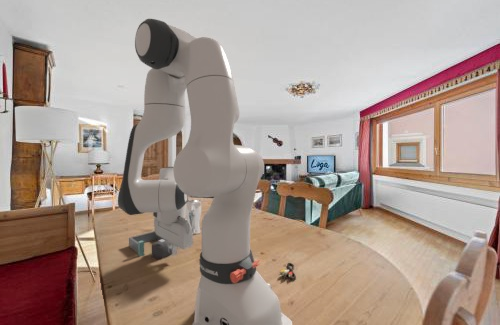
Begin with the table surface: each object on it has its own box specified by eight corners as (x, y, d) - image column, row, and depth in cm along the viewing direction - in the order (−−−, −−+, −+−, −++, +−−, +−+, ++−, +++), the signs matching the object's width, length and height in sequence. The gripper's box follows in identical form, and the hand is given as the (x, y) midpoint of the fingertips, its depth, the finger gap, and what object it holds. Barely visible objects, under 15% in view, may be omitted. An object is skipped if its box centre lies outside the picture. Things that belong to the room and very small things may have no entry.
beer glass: (186, 235, 96) (185, 202, 96) (186, 230, 103) (186, 199, 103) (201, 234, 98) (201, 202, 98) (201, 229, 105) (200, 199, 104)
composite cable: (287, 264, 71) (287, 257, 71) (301, 268, 69) (301, 260, 69) (277, 280, 63) (277, 271, 63) (293, 284, 60) (293, 276, 60)
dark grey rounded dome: (175, 254, 79) (175, 240, 79) (157, 261, 74) (156, 246, 73) (166, 248, 83) (166, 235, 83) (148, 254, 78) (148, 240, 78)
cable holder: (172, 245, 86) (172, 233, 86) (139, 256, 77) (139, 242, 76) (158, 237, 94) (158, 226, 94) (127, 246, 85) (127, 234, 85)
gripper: (197, 217, 68) (198, 260, 69) (167, 207, 82) (167, 242, 82) (179, 222, 63) (180, 267, 64) (150, 210, 77) (151, 247, 78)
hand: (172, 253), depth 73 cm, fingers closed
